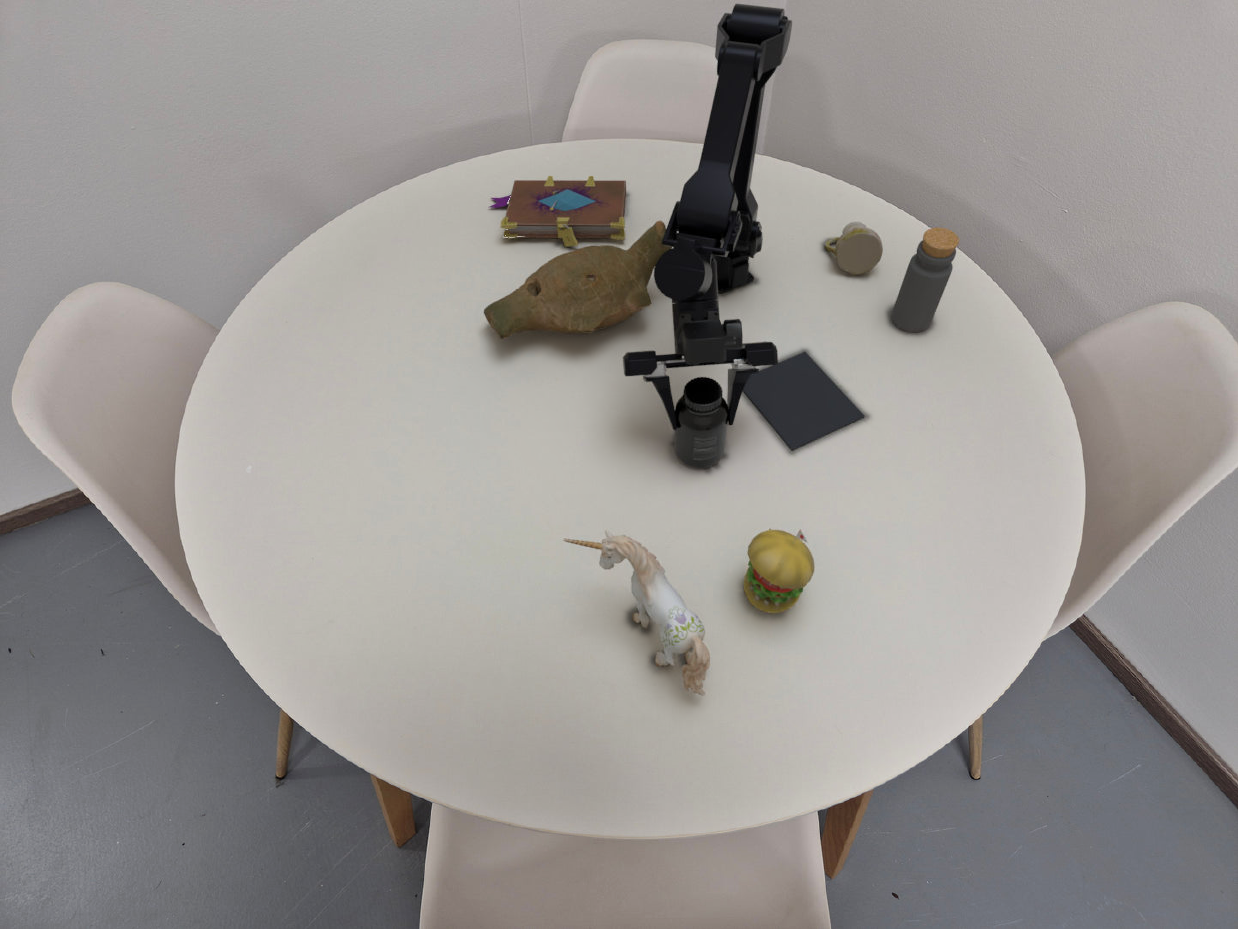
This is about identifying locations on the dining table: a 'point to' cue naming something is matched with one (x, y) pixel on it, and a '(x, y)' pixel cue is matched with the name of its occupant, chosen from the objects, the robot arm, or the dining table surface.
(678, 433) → the supplement bottle
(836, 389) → the mat
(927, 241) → the bottle
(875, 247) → the mug
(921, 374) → the dining table surface
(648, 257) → the sculpture
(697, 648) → the unicorn figurine
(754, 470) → the dining table surface
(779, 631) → the dining table surface
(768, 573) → the hamburger
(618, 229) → the book
